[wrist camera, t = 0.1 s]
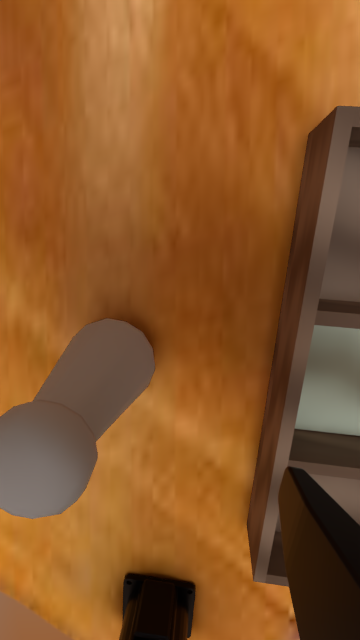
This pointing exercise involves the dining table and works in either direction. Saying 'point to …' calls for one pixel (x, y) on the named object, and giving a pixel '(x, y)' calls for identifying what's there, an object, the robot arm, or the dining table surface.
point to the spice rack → (315, 345)
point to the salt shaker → (70, 418)
